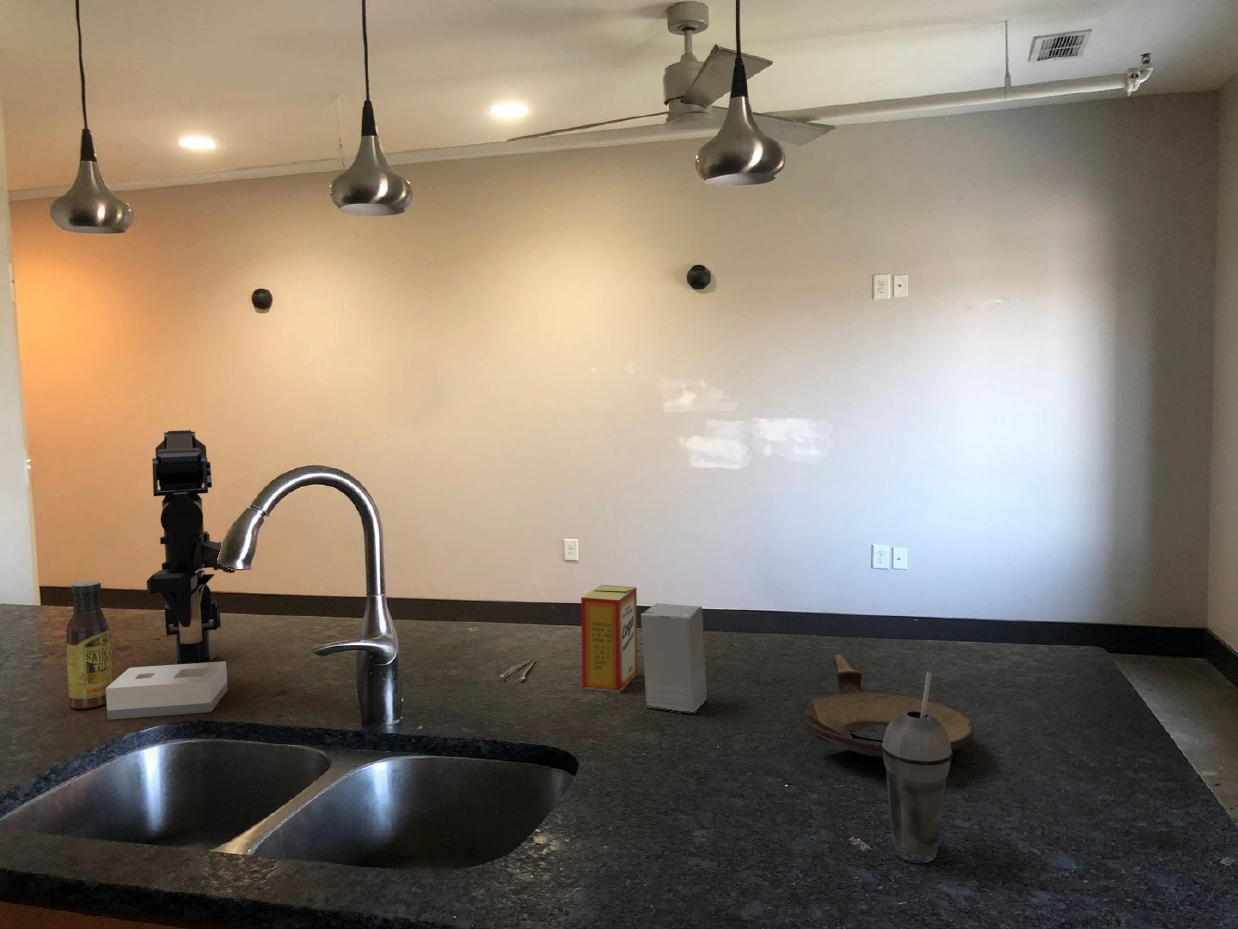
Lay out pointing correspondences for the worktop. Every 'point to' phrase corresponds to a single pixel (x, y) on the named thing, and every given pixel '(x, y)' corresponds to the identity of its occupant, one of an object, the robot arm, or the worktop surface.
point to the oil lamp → (873, 713)
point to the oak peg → (192, 624)
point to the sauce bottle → (88, 648)
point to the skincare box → (674, 657)
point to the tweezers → (516, 668)
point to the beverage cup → (916, 777)
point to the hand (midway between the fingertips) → (189, 624)
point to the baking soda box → (609, 636)
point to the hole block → (166, 690)
